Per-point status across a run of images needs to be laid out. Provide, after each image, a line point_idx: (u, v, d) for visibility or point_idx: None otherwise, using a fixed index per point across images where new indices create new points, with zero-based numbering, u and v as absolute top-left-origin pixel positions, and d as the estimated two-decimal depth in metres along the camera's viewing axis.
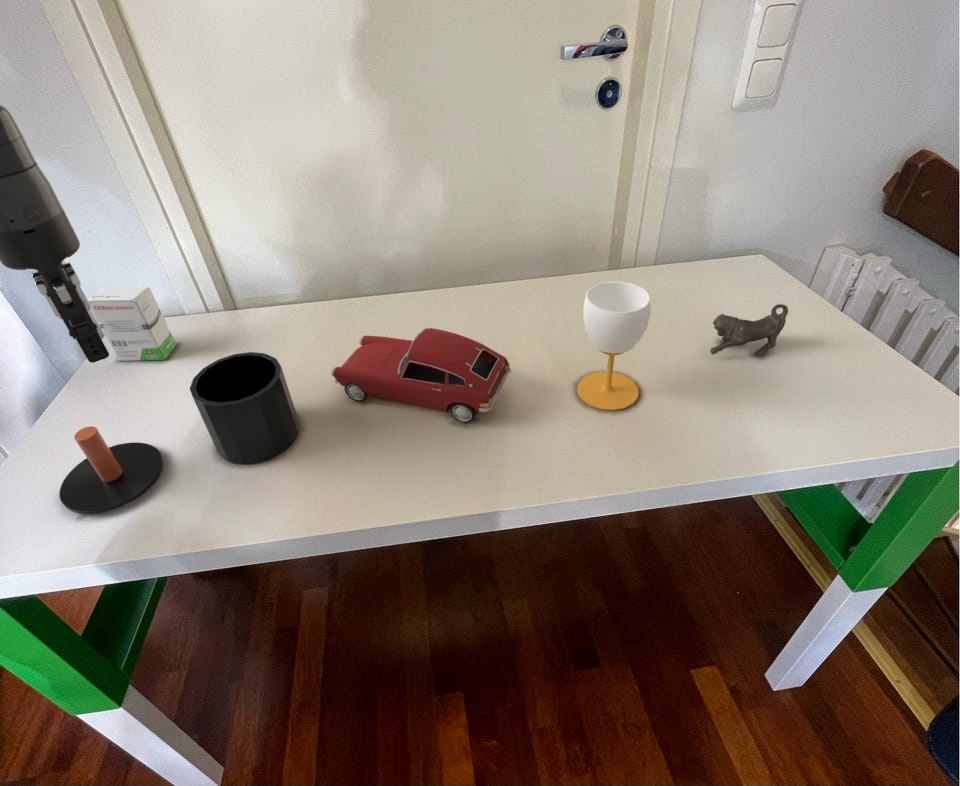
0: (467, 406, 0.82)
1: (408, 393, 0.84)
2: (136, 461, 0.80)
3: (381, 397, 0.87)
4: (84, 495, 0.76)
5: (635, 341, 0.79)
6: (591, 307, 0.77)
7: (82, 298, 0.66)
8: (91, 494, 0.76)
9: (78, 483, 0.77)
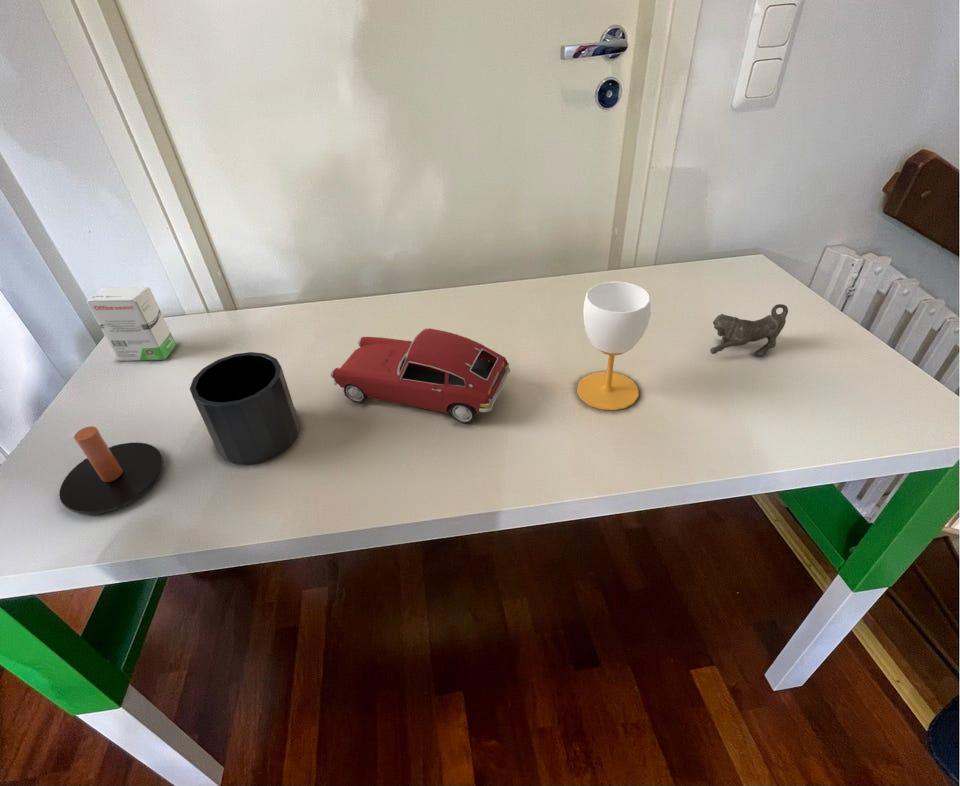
0: (467, 406, 0.82)
1: (407, 394, 0.84)
2: (136, 461, 0.80)
3: (381, 398, 0.87)
4: (84, 495, 0.76)
5: (635, 341, 0.79)
6: (591, 307, 0.77)
7: None
8: (91, 494, 0.76)
9: (78, 483, 0.77)
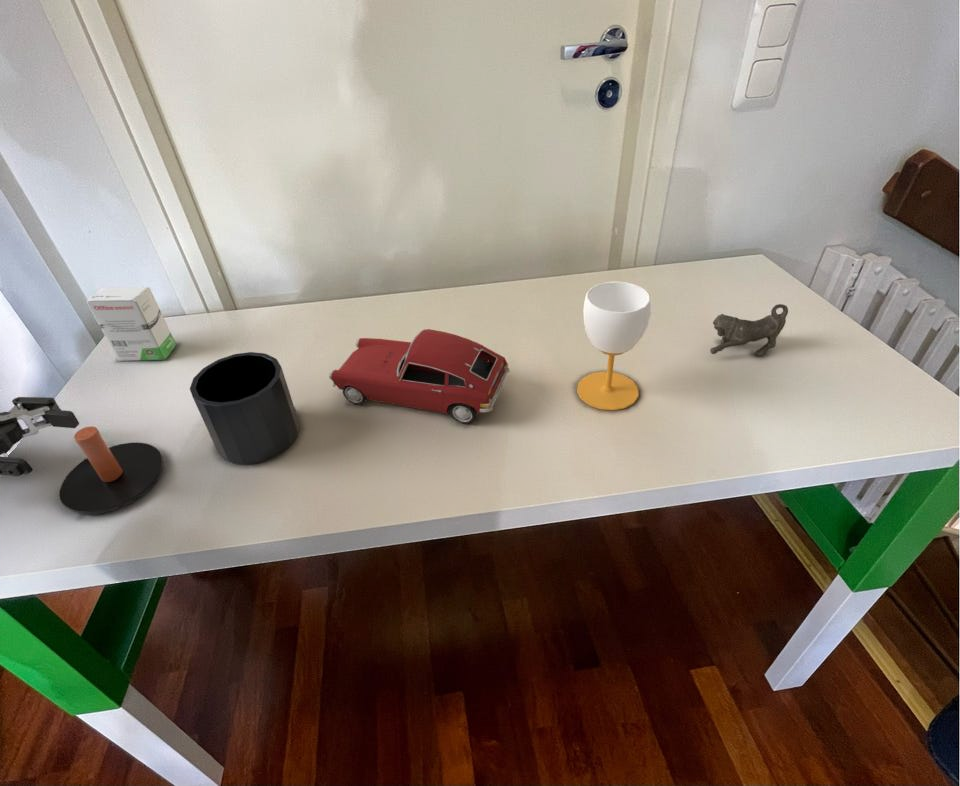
0: (467, 407, 0.82)
1: (407, 395, 0.84)
2: (136, 461, 0.80)
3: (380, 400, 0.87)
4: (84, 495, 0.76)
5: (635, 341, 0.79)
6: (591, 307, 0.77)
7: (28, 428, 0.80)
8: (91, 494, 0.76)
9: (78, 483, 0.77)
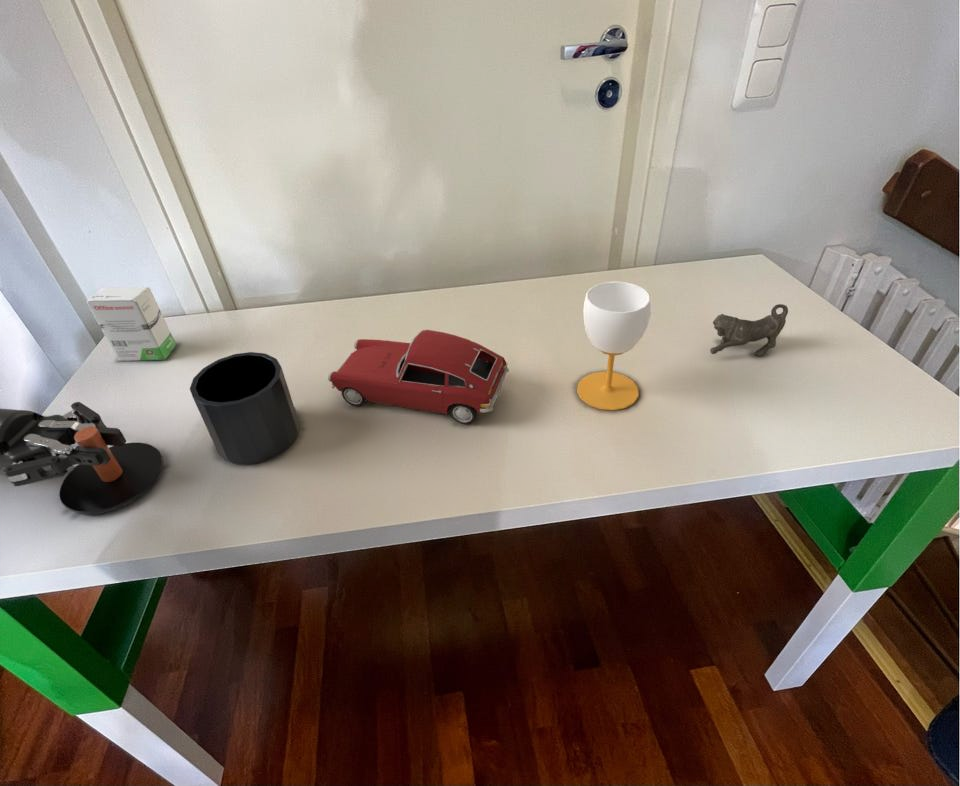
0: (468, 407, 0.82)
1: (407, 396, 0.84)
2: (136, 461, 0.80)
3: (380, 401, 0.87)
4: (84, 495, 0.76)
5: (635, 341, 0.79)
6: (591, 307, 0.77)
7: None
8: (91, 494, 0.76)
9: (78, 483, 0.77)
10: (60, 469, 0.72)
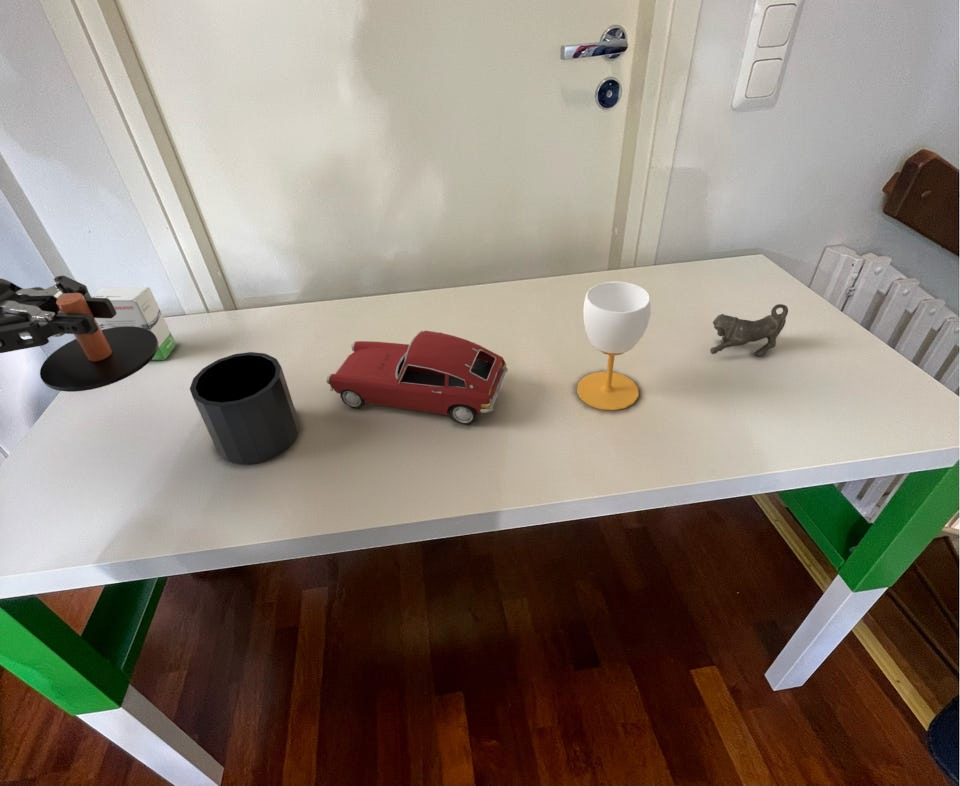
0: (468, 407, 0.82)
1: (407, 397, 0.83)
2: (127, 342, 0.71)
3: (379, 403, 0.86)
4: (68, 373, 0.66)
5: (635, 341, 0.79)
6: (591, 307, 0.77)
7: None
8: (76, 372, 0.67)
9: (61, 363, 0.68)
10: (40, 336, 0.63)
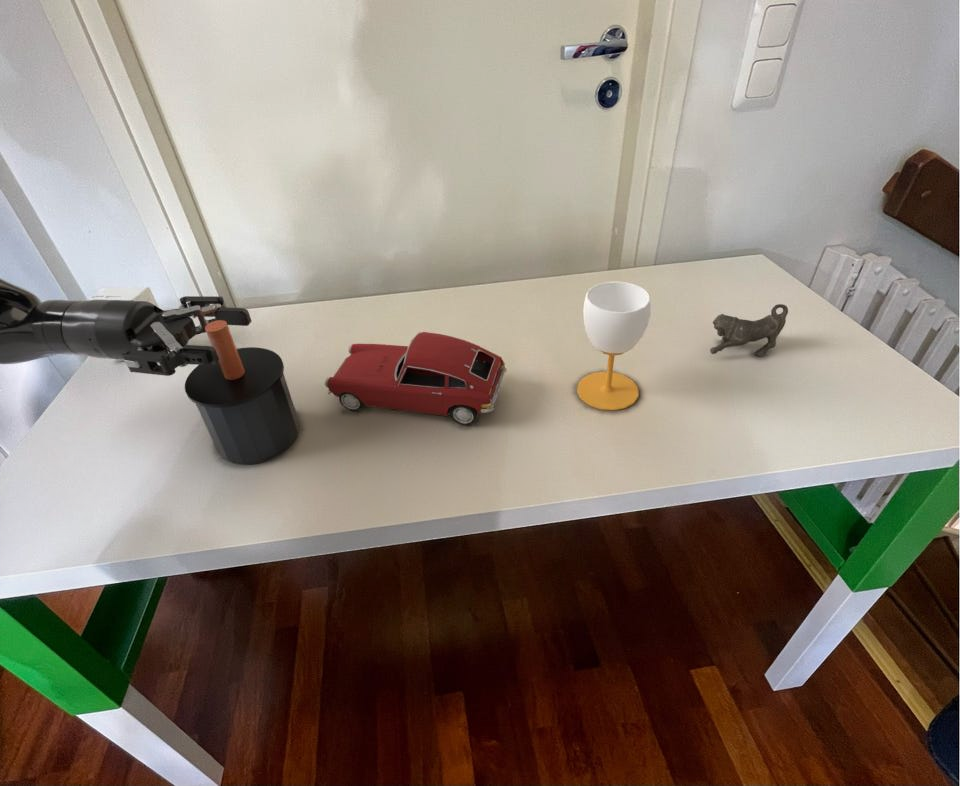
0: (468, 408, 0.82)
1: (407, 399, 0.83)
2: (256, 362, 0.79)
3: (378, 405, 0.86)
4: (211, 391, 0.75)
5: (635, 341, 0.79)
6: (591, 307, 0.77)
7: None
8: (218, 390, 0.75)
9: (201, 381, 0.77)
10: (169, 367, 0.69)
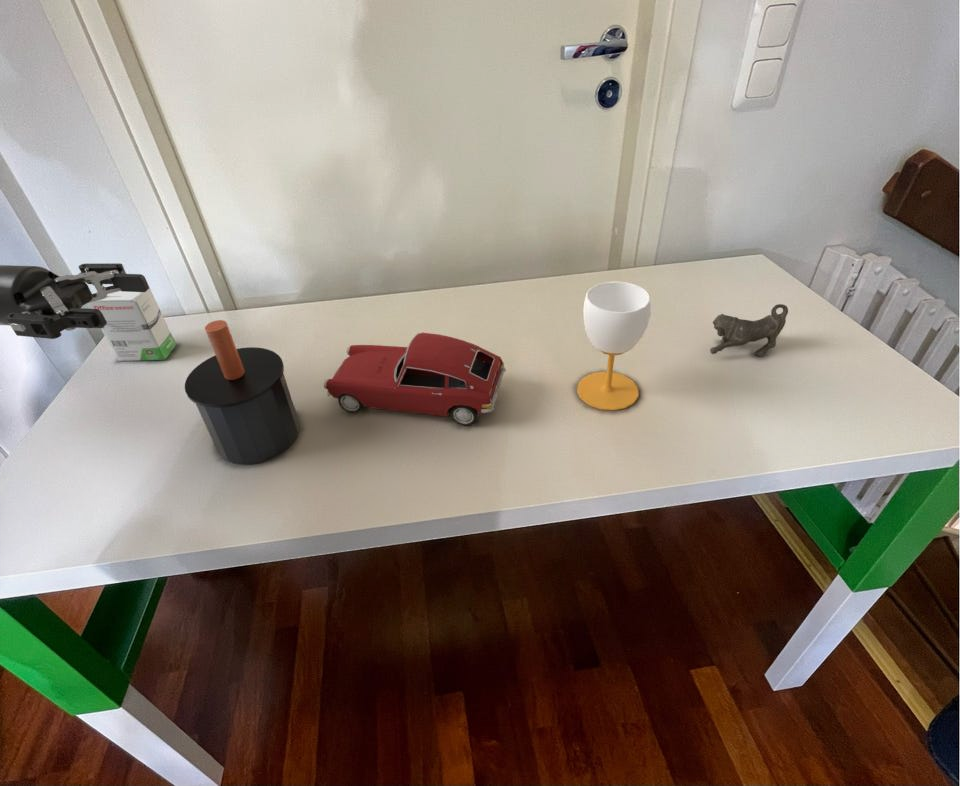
0: (469, 408, 0.82)
1: (407, 400, 0.83)
2: (256, 362, 0.79)
3: (378, 407, 0.86)
4: (211, 391, 0.75)
5: (635, 341, 0.79)
6: (591, 307, 0.77)
7: None
8: (218, 390, 0.75)
9: (201, 381, 0.77)
10: (53, 330, 0.68)
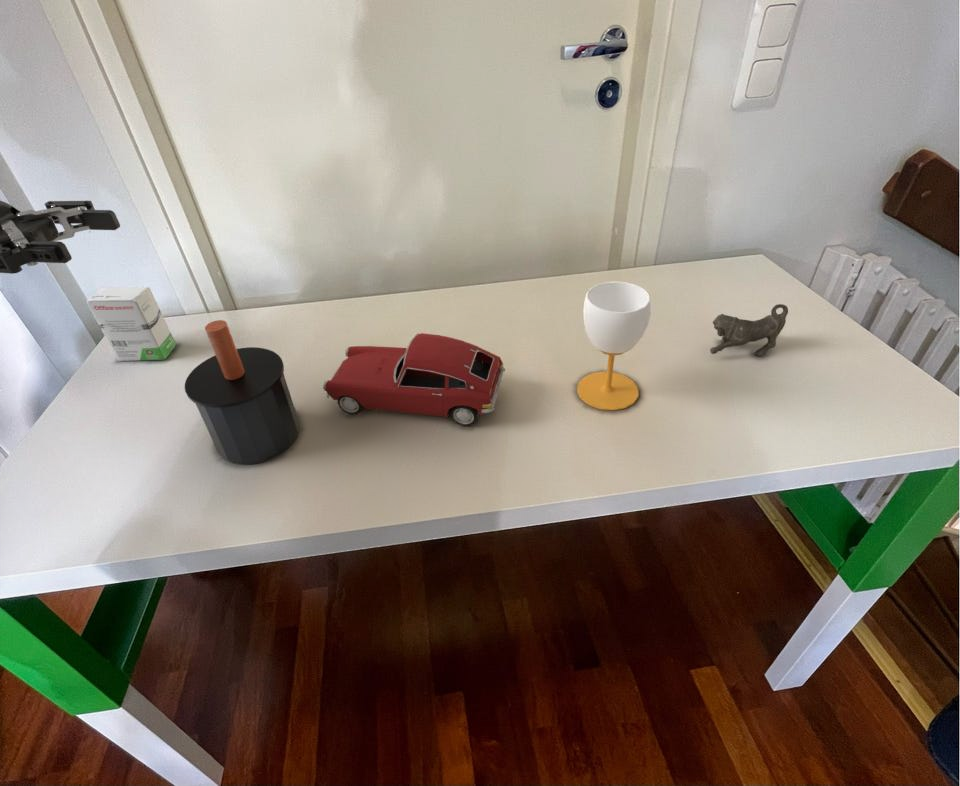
0: (469, 408, 0.82)
1: (406, 401, 0.83)
2: (256, 362, 0.79)
3: (377, 408, 0.85)
4: (211, 391, 0.75)
5: (635, 341, 0.79)
6: (591, 307, 0.77)
7: None
8: (218, 390, 0.75)
9: (201, 381, 0.77)
10: (13, 264, 0.63)
